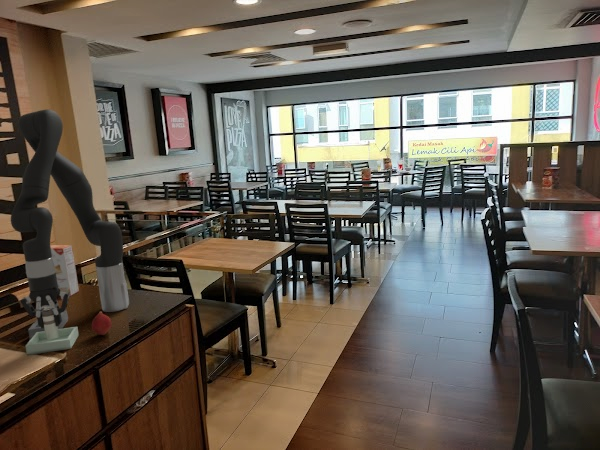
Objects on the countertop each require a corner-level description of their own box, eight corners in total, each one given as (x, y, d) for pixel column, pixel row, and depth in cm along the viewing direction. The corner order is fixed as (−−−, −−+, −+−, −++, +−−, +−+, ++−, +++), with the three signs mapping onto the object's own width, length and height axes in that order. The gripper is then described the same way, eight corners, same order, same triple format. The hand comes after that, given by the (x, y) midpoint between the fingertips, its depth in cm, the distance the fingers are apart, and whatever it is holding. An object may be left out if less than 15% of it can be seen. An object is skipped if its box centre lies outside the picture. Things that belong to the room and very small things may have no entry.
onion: (93, 340, 138) (90, 316, 137) (93, 334, 143) (89, 311, 142) (113, 336, 141) (110, 312, 139) (112, 329, 146) (108, 307, 144)
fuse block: (68, 319, 157) (66, 310, 156) (57, 335, 143) (55, 325, 143) (43, 323, 155) (41, 313, 154) (29, 339, 142) (28, 329, 141)
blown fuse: (60, 333, 139) (56, 307, 137) (57, 338, 135) (52, 311, 133) (48, 335, 138) (43, 308, 136) (44, 340, 134) (39, 313, 133)
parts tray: (78, 335, 143) (77, 326, 143) (70, 348, 134) (69, 339, 133) (38, 340, 140) (36, 332, 140) (27, 355, 131) (25, 345, 130)
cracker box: (40, 296, 184) (32, 248, 180) (50, 291, 190) (42, 244, 186) (70, 296, 182) (62, 247, 178) (79, 291, 188) (72, 244, 184)
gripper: (70, 267, 138) (78, 318, 141) (19, 272, 135) (29, 325, 138) (63, 273, 131) (72, 327, 134) (10, 279, 127) (20, 334, 131)
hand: (50, 326), depth 136 cm, fingers closed on blown fuse, 3 cm apart
